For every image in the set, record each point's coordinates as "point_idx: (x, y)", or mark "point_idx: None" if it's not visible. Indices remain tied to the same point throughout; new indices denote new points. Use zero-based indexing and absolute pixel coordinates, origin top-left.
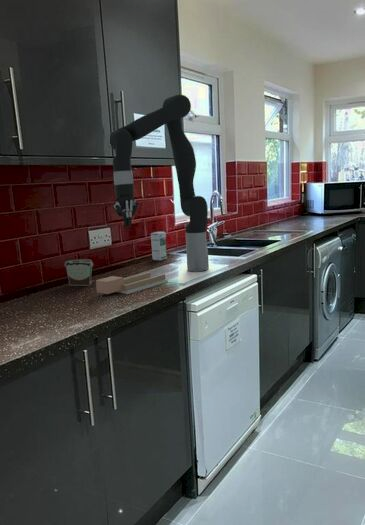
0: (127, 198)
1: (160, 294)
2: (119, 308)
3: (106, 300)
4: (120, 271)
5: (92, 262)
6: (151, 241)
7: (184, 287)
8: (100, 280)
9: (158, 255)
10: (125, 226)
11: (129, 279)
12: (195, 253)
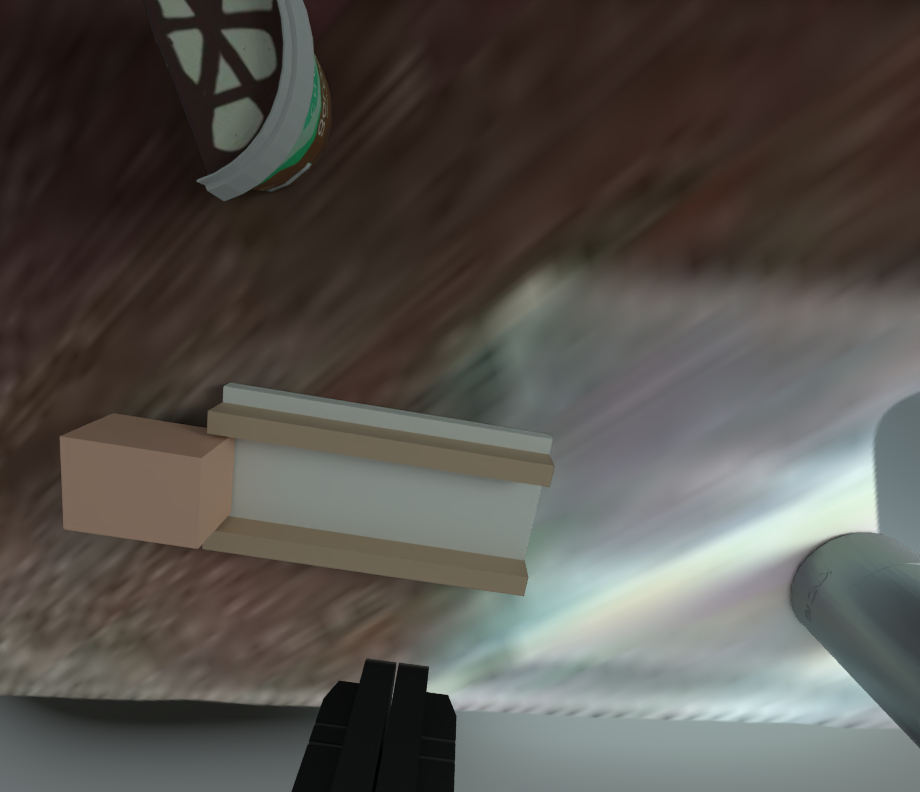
0: None
1: (286, 671)
2: (28, 639)
3: None
4: (743, 79)
5: (259, 162)
6: None
7: None
8: (70, 469)
9: None
10: (363, 673)
11: (366, 455)
12: (878, 696)
